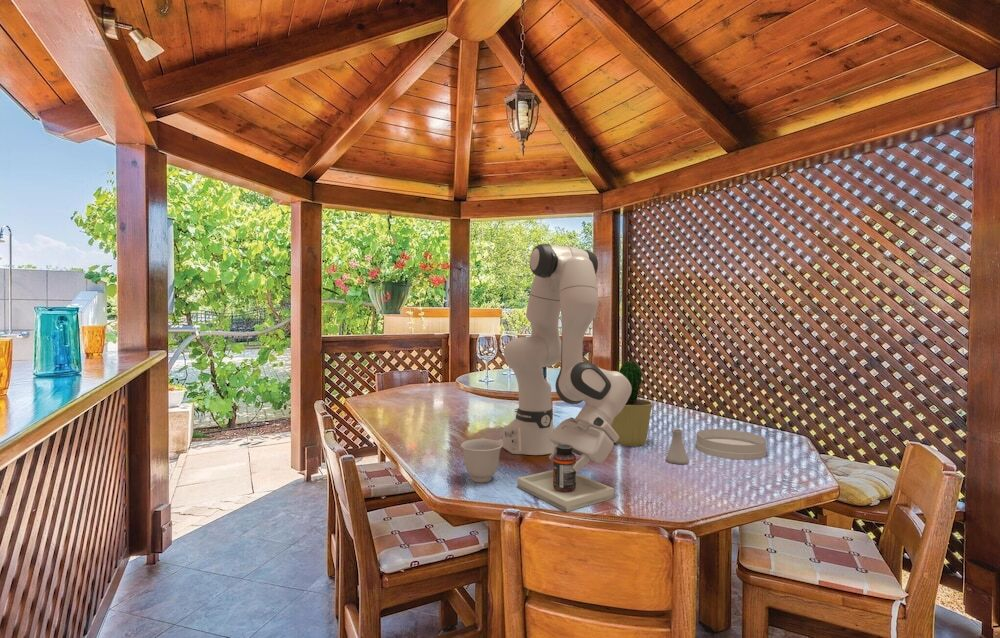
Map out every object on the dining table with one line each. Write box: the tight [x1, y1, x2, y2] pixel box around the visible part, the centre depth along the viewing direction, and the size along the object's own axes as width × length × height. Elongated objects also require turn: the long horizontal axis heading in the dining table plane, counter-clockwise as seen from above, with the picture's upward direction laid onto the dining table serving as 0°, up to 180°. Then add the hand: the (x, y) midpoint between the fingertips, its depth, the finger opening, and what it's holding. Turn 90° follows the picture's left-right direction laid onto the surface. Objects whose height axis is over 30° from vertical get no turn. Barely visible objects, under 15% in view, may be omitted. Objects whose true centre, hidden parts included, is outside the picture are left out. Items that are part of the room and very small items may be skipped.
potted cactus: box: [611, 360, 653, 447], centre depth 183 cm, size 15×15×30 cm
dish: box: [695, 428, 768, 461], centre depth 174 cm, size 22×22×5 cm
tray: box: [517, 469, 615, 513], centre depth 133 cm, size 20×16×2 cm
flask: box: [664, 428, 690, 465], centre depth 161 cm, size 7×7×10 cm
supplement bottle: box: [552, 444, 577, 492], centre depth 133 cm, size 6×6×11 cm
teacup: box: [460, 437, 503, 483], centre depth 145 cm, size 12×15×10 cm
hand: (562, 465), depth 133 cm, fingers open, 8 cm apart
